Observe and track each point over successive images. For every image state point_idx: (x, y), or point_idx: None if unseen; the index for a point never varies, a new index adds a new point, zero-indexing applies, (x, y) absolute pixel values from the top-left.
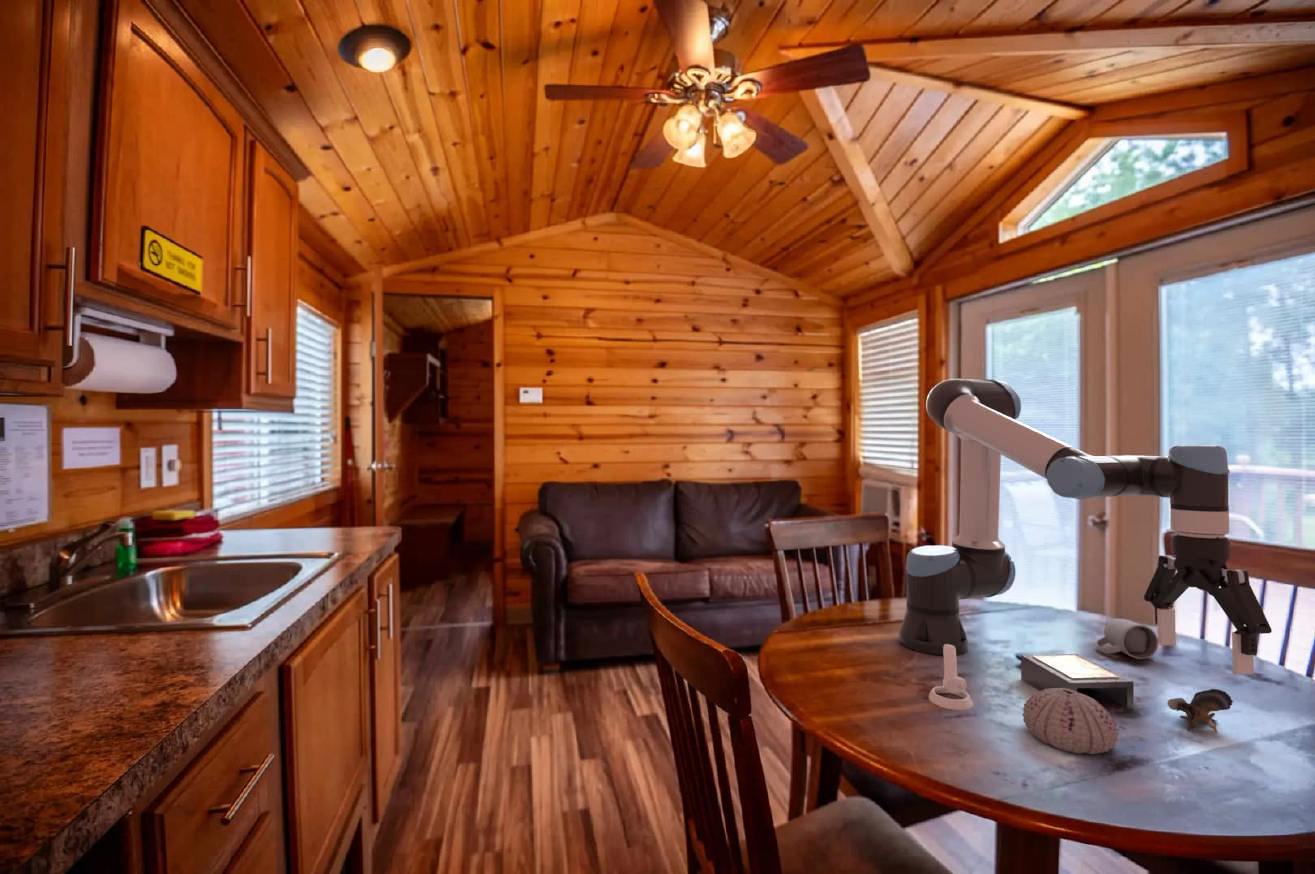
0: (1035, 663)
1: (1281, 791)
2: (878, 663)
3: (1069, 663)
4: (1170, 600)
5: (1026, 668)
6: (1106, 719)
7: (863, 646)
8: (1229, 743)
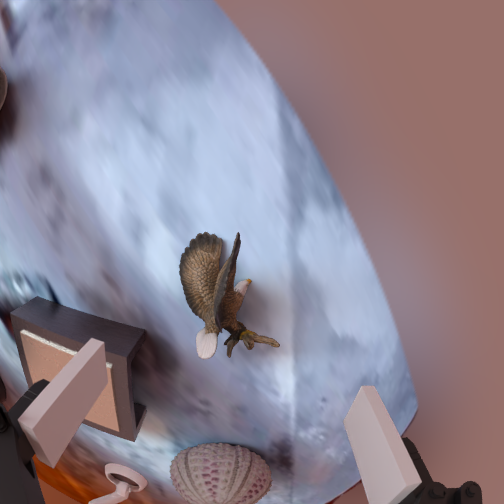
0: None
1: (388, 368)
2: None
3: None
4: (30, 484)
5: None
6: (257, 485)
7: None
8: (289, 306)
